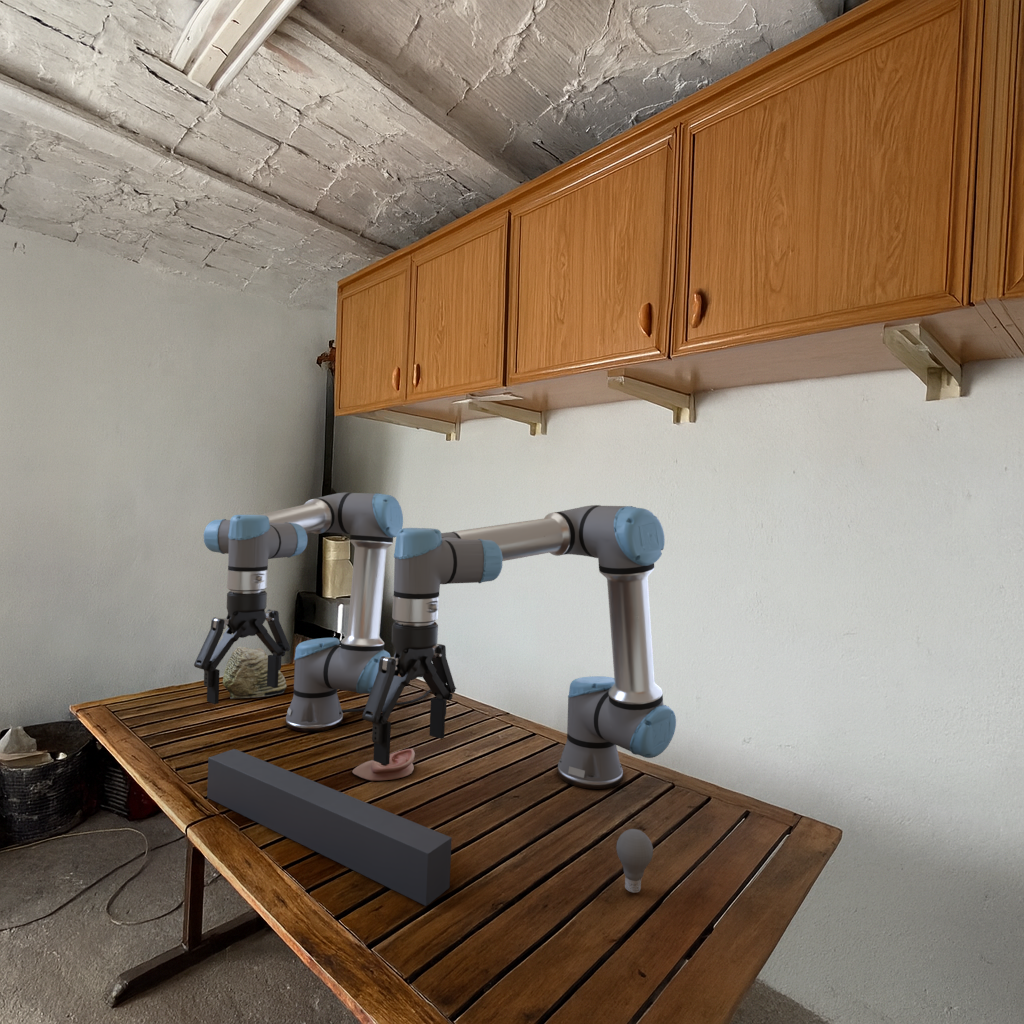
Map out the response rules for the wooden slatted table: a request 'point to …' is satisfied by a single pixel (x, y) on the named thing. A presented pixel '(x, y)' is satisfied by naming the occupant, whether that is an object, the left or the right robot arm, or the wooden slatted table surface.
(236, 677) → the fossil
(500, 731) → the wooden slatted table surface
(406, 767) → the anatomical model
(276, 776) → the bar
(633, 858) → the light bulb
